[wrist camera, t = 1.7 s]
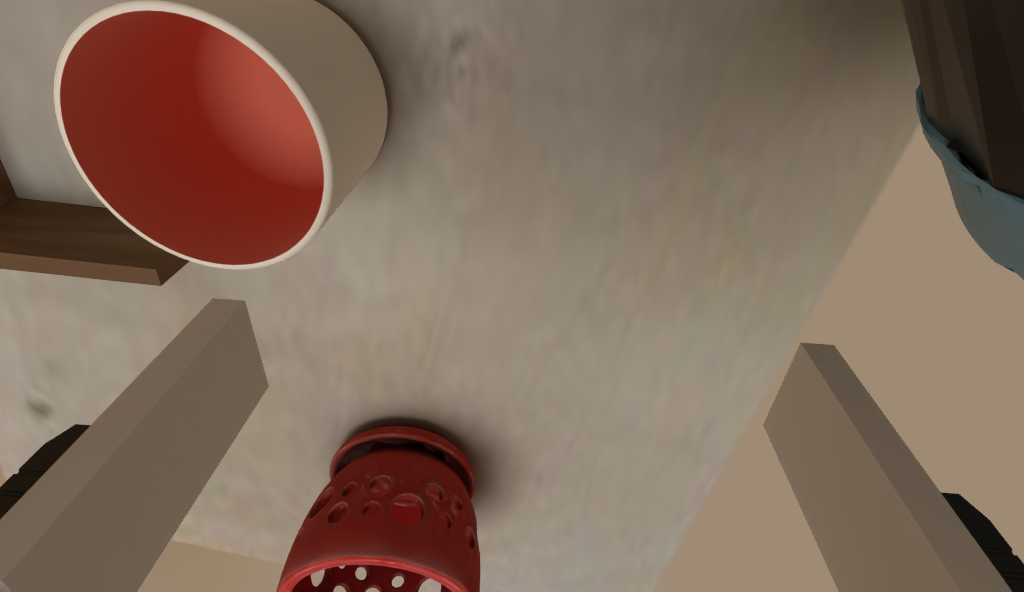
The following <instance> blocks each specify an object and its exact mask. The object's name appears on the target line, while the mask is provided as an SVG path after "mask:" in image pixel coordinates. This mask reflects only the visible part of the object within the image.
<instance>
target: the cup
mask: <svg viewBox="0 0 1024 592" xmlns="http://www.w3.org/2000/svg"><path fill="white" fill-rule="evenodd" d="M54 104H55V112H56V117H57V122H58V125H59V129H60V132H61V135H62V138H63V141H64V143H65V146H66V148H67V150H68V152H69V154H70V156H71V158H72V160H73V162H74V164H75V166H76V168H77V169H78V171H79V173H80V174H81V176H82V177H83V179H84V180H85V182H86V183H87V184H88V186H89V187H90V189H91V190H92V191H93V192H94V194H95V195H96V196H97V197H98V198H99V200H100V201H101V202H102V203H103V204H104V205H105V206H106V207H107V208H108V209H109V210H110V211H111V212H112V213H113V214H114V215H115V216H116V217H117V218H118V219H119V220H121V221H122V222H123V223H124V224H125V225H126V226H128V227H129V228H130V229H132V230H133V231H134V232H136V233H137V234H138V235H140V236H141V237H143V238H144V239H146V240H147V241H149V242H151V243H152V244H154V245H156V246H157V247H159V248H161V249H163V250H165V251H167V252H169V253H171V254H174V255H176V256H178V257H180V258H183V259H186V260H189V261H192V262H195V263H198V264H202V265H206V266H210V267H216V268H222V269H254V268H261V267H265V266H270V265H273V264H276V263H279V262H281V261H283V260H286V259H288V258H289V257H291V256H293V255H295V254H296V253H297V252H299V251H300V250H302V249H303V248H304V247H305V246H306V245H307V244H308V243H309V242H310V241H311V240H312V239H313V238H314V237H315V235H316V234H317V233H318V232H319V230H320V229H321V228H322V227H323V225H324V224H325V223H326V222H327V220H328V219H329V218H330V217H331V215H332V214H333V213H334V212H335V210H336V209H337V208H338V207H339V205H340V204H341V203H342V202H343V200H344V199H345V198H346V197H347V195H348V194H349V193H350V192H351V190H352V189H353V188H354V187H355V185H356V184H357V183H358V182H359V180H360V179H361V178H362V177H363V175H364V174H365V173H366V172H367V170H368V169H369V168H370V167H371V165H372V164H373V163H374V161H375V159H376V158H377V156H378V154H379V152H380V150H381V147H382V144H383V141H384V138H385V134H386V128H387V117H388V112H387V101H386V94H385V89H384V85H383V81H382V78H381V75H380V73H379V70H378V68H377V66H376V64H375V61H374V59H373V57H372V56H371V54H370V52H369V51H368V49H367V47H366V46H365V45H364V43H363V42H362V40H361V39H360V38H359V36H358V35H357V34H356V33H355V32H354V31H353V30H352V29H351V27H350V26H349V25H348V24H347V23H345V22H344V21H343V20H342V19H341V18H340V17H339V16H338V15H336V14H335V13H334V12H332V11H331V10H330V9H328V8H327V7H325V6H323V5H322V4H320V3H318V2H317V1H315V0H132V1H126V2H121V3H117V4H114V5H111V6H108V7H106V8H104V9H102V10H100V11H98V12H96V13H94V14H93V15H91V16H90V17H88V18H87V19H86V20H85V21H83V22H82V23H81V24H80V25H79V26H78V27H77V28H76V29H75V30H74V32H73V33H72V34H71V35H70V37H69V38H68V40H67V41H66V43H65V45H64V47H63V49H62V51H61V53H60V56H59V59H58V62H57V66H56V71H55V77H54Z"/></svg>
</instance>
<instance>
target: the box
mask: <svg viewBox="0 0 1024 592" xmlns="http://www.w3.org/2000/svg"><path fill="white" fill-rule="evenodd" d="M188 262H189V260H186V259H183V258H180V257H178V256H176V255H174V254H171V253H169V252H167V251H165V250H163V249H161V248H159V247H157V246H156V245H154V244H152V243H151V242H149V241H147V240H146V239H144V238H143V237H141V236H140V235H138V234H137V233H136V232H134V231H133V230H132V229H130V228H129V227H128V226H126V225H125V224H124V223H123V222H122V221H121V220H119V219H118V218H117V217H116V216H115V215H114V214H113V213H112V212H111V211H110V210H109V209H108V208H99V207H90V206H81V205H72V204H63V203H54V202H45V201H36V200H27V199H18V198H16V196H15V193H14V191H13V189H12V186H11V184H10V182H9V180H8V177H7V175H6V173H5V171H4V168H3V166H2V164H1V162H0V269H9V270H18V271H28V272H37V273H46V274H55V275H65V276H74V277H83V278H92V279H102V280H111V281H120V282H130V283H139V284H148V285H157V286H161V285H163V284H164V283H165V282H166V281H167V280H168V279H169V278H171V277H172V276H173V275H174V274H175V273H176V272H178V271H179V270H180V269H181V268H182V267H183V266H184V265H186V264H187V263H188Z"/></svg>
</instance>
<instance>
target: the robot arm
mask: <svg viewBox="0 0 1024 592" xmlns="http://www.w3.org/2000/svg"><path fill="white" fill-rule="evenodd" d="M901 1H902V6H903V10H904V14H905V18H906V23H907V27H908V31H909V35H910V40H911V44H912V48H913V52H914V57H915V61H916V65H917V69H918V74H919V78H920V82H921V83H920V85H919V86H918V88H917V90H916V104H917V112H918V115H919V118H920V122H921V125H922V128H923V133H924V135H925V137H926V139H927V141H928V143H929V144H930V147H931V148H932V149H933V151H934V152H935V153H936V155H937V156H938V157H939V158H940V160H941V161H942V165H943V167H944V171H945V173H946V176H947V179H948V182H949V185H950V188H951V191H952V195H953V199H954V202H955V206H956V208H957V211H958V213H959V215H960V217H961V220H962V222H963V223H964V225H965V227H966V229H967V230H968V232H969V233H970V235H971V236H972V237H973V239H974V240H975V241H976V242H977V244H978V245H979V246H980V247H981V248H982V250H983V251H985V253H986V254H987V255H988V256H989V257H990V258H991V259H993V260H994V261H995V262H996V263H998V264H1000V265H1002V266H1003V267H1005V268H1007V269H1009V270H1011V271H1013V272H1015V273H1016V274H1018V275H1019V276H1020V277H1021V278H1022V279H1023V280H1024V0H901ZM268 386H269V385H268V381H267V378H266V374H265V371H264V367H263V364H262V360H261V357H260V353H259V349H258V346H257V342H256V339H255V335H254V332H253V328H252V324H251V321H250V317H249V314H248V310H247V307H246V303H245V301H242V300H229V299H215V298H213V299H212V300H211V301H210V302H209V303H208V304H207V305H206V306H205V307H204V308H203V309H202V310H201V311H200V312H199V313H198V315H197V316H196V317H195V318H194V319H193V320H192V321H191V322H190V323H189V324H188V325H187V326H186V327H185V328H184V329H183V330H182V331H181V332H180V333H179V334H178V335H177V336H176V337H175V338H174V339H173V341H172V342H171V343H170V344H169V345H168V346H167V347H166V348H165V349H164V350H163V351H162V352H161V353H160V354H159V355H158V356H157V357H156V358H155V359H154V360H153V361H152V362H151V363H150V364H149V365H148V366H147V368H146V369H145V370H144V371H143V372H142V373H141V374H140V375H139V376H138V377H137V378H136V379H135V380H134V381H133V382H132V383H131V384H130V385H129V386H128V387H127V388H126V389H125V390H124V391H123V392H122V394H121V395H120V396H119V397H118V398H117V399H116V400H115V401H114V402H113V403H112V404H111V405H110V406H109V407H108V408H107V409H106V410H105V411H104V412H103V413H102V414H101V415H100V416H99V417H98V418H97V420H96V421H95V422H94V423H93V424H92V425H78V424H76V425H74V426H72V427H71V428H69V429H68V430H66V431H64V432H63V433H61V434H60V435H58V436H57V437H55V438H53V439H52V440H50V441H49V442H47V443H46V444H44V445H43V446H42V447H41V448H40V449H39V450H38V451H37V452H36V453H35V454H34V455H33V456H32V457H31V458H30V459H29V460H28V461H27V462H26V463H25V464H24V465H22V466H21V467H20V468H19V472H18V474H13V475H12V476H11V477H10V478H9V479H8V480H7V481H6V482H5V483H4V484H3V485H2V486H1V487H0V592H137V591H138V589H139V588H140V586H141V585H142V583H143V581H144V580H145V578H146V577H147V575H148V574H149V572H150V571H151V569H152V567H153V566H154V564H155V563H156V561H157V560H158V558H159V556H160V555H161V553H162V552H163V550H164V549H165V547H166V546H167V544H168V542H169V541H170V539H171V538H172V536H173V535H174V533H175V532H176V530H177V528H178V527H179V525H180V524H181V522H182V521H183V519H184V517H185V516H186V514H187V513H188V511H189V510H190V508H191V507H192V505H193V503H194V502H195V500H196V499H197V497H198V496H199V494H200V493H201V491H202V489H203V488H204V486H205V485H206V483H207V482H208V480H209V478H210V477H211V475H212V474H213V472H214V471H215V469H216V468H217V466H218V464H219V463H220V461H221V460H222V458H223V457H224V455H225V454H226V452H227V450H228V449H229V447H230V446H231V444H232V443H233V441H234V439H235V438H236V436H237V435H238V433H239V432H240V430H241V429H242V427H243V425H244V424H245V422H246V421H247V419H248V418H249V416H250V414H251V413H252V411H253V410H254V408H255V407H256V405H257V404H258V402H259V400H260V399H261V397H262V396H263V394H264V393H265V391H266V390H267V388H268ZM763 425H764V427H765V430H766V432H767V434H768V436H769V439H770V441H771V443H772V445H773V448H774V450H775V452H776V454H777V456H778V459H779V461H780V463H781V465H782V467H783V469H784V472H785V474H786V476H787V478H788V481H789V483H790V485H791V487H792V489H793V492H794V494H795V496H796V498H797V500H798V502H799V505H800V507H801V509H802V511H803V514H804V516H805V518H806V520H807V523H808V525H809V527H810V529H811V531H812V534H813V536H814V538H815V540H816V542H817V545H818V547H819V549H820V551H821V553H822V556H823V558H824V560H825V562H826V564H827V567H828V569H829V571H830V573H831V575H832V577H833V580H834V582H835V584H836V586H837V589H838V591H839V592H1024V564H1023V563H1022V561H1021V560H1020V559H1019V557H1018V556H1015V555H1013V553H1012V548H1011V547H1010V546H1009V544H1008V543H1007V542H1006V541H1005V540H1004V538H1003V537H1002V536H1001V534H1000V533H999V532H998V530H997V529H996V528H995V527H994V525H993V524H992V523H991V521H990V520H989V519H988V518H987V517H985V516H984V515H983V514H982V513H981V512H979V511H978V510H977V509H976V508H975V507H974V506H972V505H971V504H970V503H969V502H968V501H966V500H965V499H964V498H963V497H962V496H961V495H959V494H951V493H941V492H940V491H939V490H938V488H937V487H936V486H935V484H934V483H933V481H932V480H931V479H930V477H929V476H928V475H927V473H926V472H925V470H924V469H923V468H922V466H921V465H920V463H919V462H918V461H917V460H916V458H915V457H914V455H913V454H912V452H911V451H910V450H909V448H908V447H907V446H906V444H905V443H904V441H903V440H902V439H901V437H900V436H899V434H898V433H897V432H896V430H895V429H894V427H893V426H892V425H891V423H890V422H889V421H888V419H887V418H886V416H885V415H884V414H883V412H882V411H881V410H880V408H879V407H878V405H877V404H876V403H875V401H874V400H873V399H872V397H871V396H870V394H869V393H868V392H867V390H866V389H865V387H864V386H863V385H862V383H861V382H860V380H859V379H858V378H857V377H856V375H855V374H854V372H853V371H852V369H851V368H850V367H849V365H848V364H847V363H846V361H845V360H844V359H843V357H842V356H841V354H840V353H839V351H838V350H837V349H836V347H835V346H834V345H824V344H811V343H800V346H799V348H798V350H797V352H796V354H795V356H794V359H793V361H792V363H791V365H790V368H789V370H788V372H787V374H786V376H785V378H784V381H783V383H782V385H781V387H780V390H779V391H778V394H777V396H776V398H775V400H774V402H773V405H772V407H771V409H770V411H769V413H768V416H767V418H766V420H765V422H764V424H763Z"/></svg>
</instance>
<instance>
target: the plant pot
mask: <svg viewBox="0 0 1024 592" xmlns="http://www.w3.org/2000/svg"><path fill="white" fill-rule="evenodd" d="M330 479H331V481H330V482H329V484H328V485H327V486H326V487H325V488H324V490H323V491H322V492H321V494H320V495H319V497H318V498H317V500H316V501H315V503H314V504H313V506H312V508H311V509H310V511H309V513H308V515H307V516H306V518H305V520H304V522H303V524H302V526H301V528H300V530H299V532H298V534H297V536H296V539H295V541H294V543H293V545H292V548H291V550H290V552H289V555H288V558H287V561H286V563H285V566H284V569H283V572H282V575H281V578H280V582H279V584H278V588H277V592H333V590H334V588H335V587H336V586H342V587H344V588H345V590H346V592H365V591H366V590H367V589H369V588H372V587H373V588H377V589H378V590H379V591H380V592H418V590H419V588H420V586H421V584H422V583H423V582H424V581H425V580H427V579H429V578H431V579H433V580H435V581H437V582H439V583H441V592H480V552H479V546H478V539H477V522H476V517H475V512H474V509H473V505H472V502H471V499H472V497H473V495H474V492H475V475H474V471H473V468H472V465H471V464H470V462H469V460H468V459H467V457H466V456H465V455H464V453H463V452H462V451H461V450H460V449H459V448H458V447H456V446H455V445H454V444H453V443H451V442H450V441H448V440H447V439H445V438H443V437H441V436H439V435H437V434H435V433H432V432H429V431H427V430H423V429H419V428H414V427H408V426H386V427H380V428H375V429H371V430H368V431H365V432H363V433H360V434H358V435H356V436H354V437H353V438H351V439H350V440H348V441H347V442H346V443H344V444H343V445H342V446H341V447H340V449H339V450H338V451H337V453H336V454H335V456H334V458H333V460H332V462H331V466H330ZM344 565H346V566H345V567H344V568H343V569H340V568H339V567H338V566H344ZM359 567H363V568H365V570H366V572H367V576H366V578H365V579H364V580H359V579H357V578H356V576H355V572H356V570H357V568H359ZM323 569H325V573H324V577H323V580H322V582H321V583H320V584H319V585H318V586H317V587H315V586H313V585H312V582H311V574H312V573H315V572H317V571H320V570H323ZM396 576H402V577H403V578H404V583H403V585H402V586H401V587H399V588H395V587H393V586H392V580H393V578H394V577H396Z"/></svg>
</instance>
